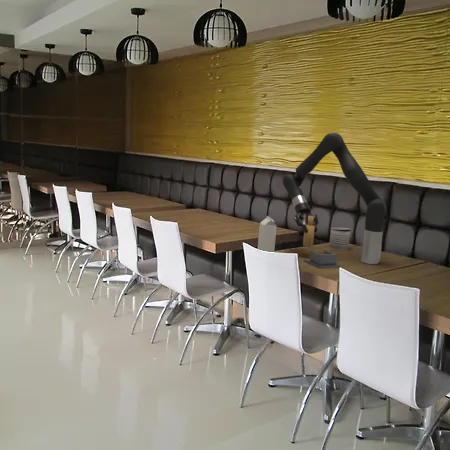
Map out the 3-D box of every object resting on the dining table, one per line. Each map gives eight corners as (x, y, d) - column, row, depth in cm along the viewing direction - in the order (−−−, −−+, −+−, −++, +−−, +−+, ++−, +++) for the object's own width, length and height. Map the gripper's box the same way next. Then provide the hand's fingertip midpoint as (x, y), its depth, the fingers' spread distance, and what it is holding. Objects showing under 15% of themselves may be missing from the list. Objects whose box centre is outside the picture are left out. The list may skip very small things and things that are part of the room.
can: (334, 249, 302) (336, 229, 300) (325, 245, 313) (327, 225, 311) (352, 250, 305) (354, 230, 303) (342, 245, 316) (345, 226, 314)
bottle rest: (304, 261, 269) (305, 249, 268) (325, 260, 275) (326, 248, 274) (318, 268, 258) (320, 256, 256) (340, 267, 263) (341, 255, 262)
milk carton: (261, 252, 280) (264, 217, 277) (257, 249, 287) (260, 215, 283) (274, 253, 282) (277, 218, 279) (269, 249, 289) (272, 215, 285)
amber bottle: (307, 244, 282) (310, 214, 279) (314, 246, 278) (317, 216, 275) (300, 245, 278) (303, 215, 275) (308, 247, 274) (311, 217, 271)
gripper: (292, 201, 277) (303, 228, 269) (315, 201, 283) (326, 227, 275) (286, 209, 283) (296, 236, 275) (308, 209, 289) (319, 235, 281)
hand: (311, 231), depth 275 cm, fingers closed on amber bottle, 5 cm apart
